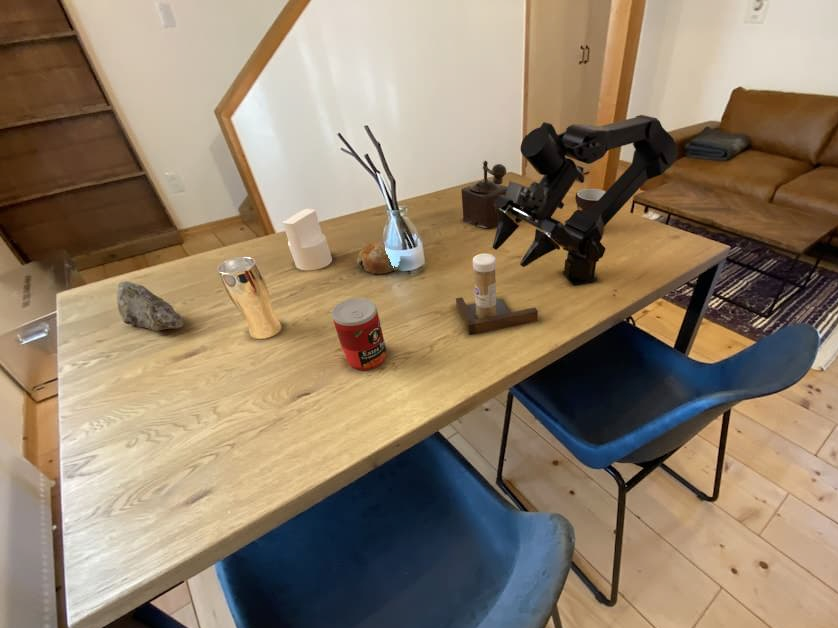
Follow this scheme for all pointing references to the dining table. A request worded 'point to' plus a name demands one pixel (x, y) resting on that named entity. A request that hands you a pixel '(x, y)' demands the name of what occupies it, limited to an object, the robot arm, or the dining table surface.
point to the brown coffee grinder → (484, 198)
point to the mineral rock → (145, 308)
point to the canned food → (360, 333)
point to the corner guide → (493, 317)
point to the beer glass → (249, 295)
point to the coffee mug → (588, 198)
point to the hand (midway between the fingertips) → (507, 257)
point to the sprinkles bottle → (485, 285)
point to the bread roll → (375, 259)
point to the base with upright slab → (307, 241)
